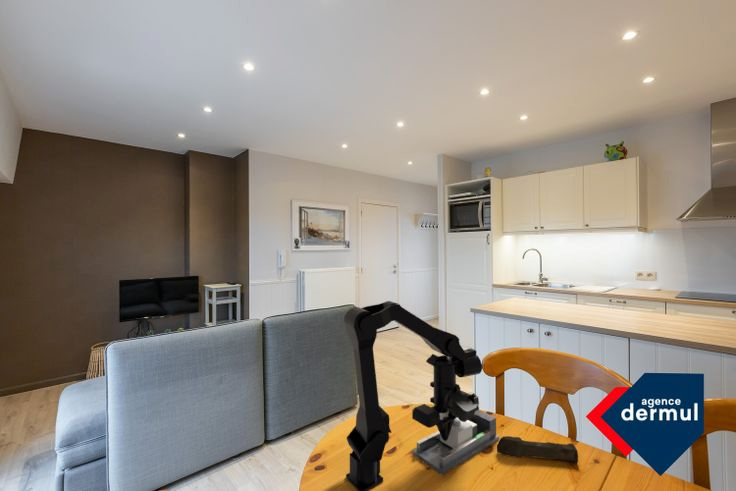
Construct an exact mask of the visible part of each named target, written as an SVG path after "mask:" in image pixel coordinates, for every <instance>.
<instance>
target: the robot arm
mask: <svg viewBox="0 0 736 491" xmlns="http://www.w3.org/2000/svg"><path fill="white" fill-rule="evenodd" d="M343 317H344V318H343V322H344V326H345V330H346V333H347V336H348V338H349V340H350V342H351V345H352V348H353V355H354V356H353V357H354V364H355V365H354V367H355V374H356V383H357V392H358V401H359V402H358V404H359V405H358V406H359V407H358V409H357V412H356V416H355V418H356V419H355V426H354V427H353V428H352V430H351V431H350V432H349V434H348V435H347V436H346V441H347V444H348V446H349V447H350V449H351V450H352V451H351V452H350V453H349V473H346V474H345V478H346V479H347V480H348V481H349V483H350V484H352V485H353V487H354V488H355V489H357V491H369V490H370V489H372V488H373V487H375V486H378V485H380V484H381V483H383V482H384V477H383V476H382V475H380V473H381V460H383V459H382V458H383V454H384V451H385V448H386V445H387V443H389V440H390V434H391V433H392V430H391V428H390V415H389V414H388V413H387V412H386V411H385V410H384V409H383V408H382V407H381V406H380V402H379V391H378V382H377V374H376V364H375V356H374V354H375V353H374V345H375V341H376V339H377V337H378V336H377V335H378V330H380V329H382V328H384V327H386V326H387V325H389V324H390V323H392V322H395V323H397V324H399V325H400V326H401V327H404V328H405V329H406V330H409V332H411V333H414V334H415V335H417V336H418V337H420V338H421V339H422V341H423V342H425V344H426V345H427V346H428V347H429V348H431V350H433V351H435V352H437V353H440V354H442V355H436V354H434V353H432V354H431V355H430V357H427V359H426V361H425V362H426V363H427V364H429V365H430V366H433V381H430V382H429V387H431V388H433V397H430V400H429V401H430V403H432V404H433V406H429V405H427V404H426V403H423V404H420V405H418V406H416V407H414V408H413V409H412V411H411V412H412V413H411V416H412V420H414V421H416V422H417V423H419V424H421V425H422V426H424V427H425V428H433V427H435V426H436V428H437V431H439V432H440V435H441V437H442V439H443V440H444V441H447V440H448V437H449V434H450V431H451V428H452V425H453V422H454V420H455V419H456V418H458V419H459V420H460V421H462V422H466V421H467V420H469V419H471V418H473V417H474V414H475V411H477V410H480V407H479V405H480V401H479V396H478V394H476V393H468V392H465V391H464V390H461V387H460V384H458V383H457V377H458V378H467V377H470V376H471V377H472V376H476V375H480V374H481V372H482V371H483V364H482V360H481V359H480V357H479V355H477V349H476V350H475V349H473V348H467V349H464V348H463V347H462V346H461V343H460V338H459V337H458V336H457V335H456V334H453V333H451V332H448V331H446V330H442V329H439V328H437V327H434V326H432V325H431V324H429V323H427V322H426V321H425V320H423V319H421V318H420V317H419V316H416V315H415V314H414V313H412V312H410V311H409V310H407V309H405V308H404V307H403V306H401V304H400V303H397V302H394V301H392V300H387V301H384V302H381V303H376V304H372V305H366V306H363V307H358V306H354V307H351V308H350V309H348V310H347V311H346V313H345V314H344V316H343Z"/></svg>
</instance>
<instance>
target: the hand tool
mask: <svg viewBox="0 0 736 491" xmlns="http://www.w3.org/2000/svg"><path fill="white" fill-rule="evenodd" d="M497 442H498V443H497V444H496V452H497V453H498V454H500V455H503V456H506V457H512V458H518V459H522V457H530V458H531V457H532V458H538V459H540V458H544V459H551V460H559V461H560V460H561V461H570V462H574V464H575V463H576V464H575V465H577V464H578V463H579V452H578V449H577V448H576V446H575V444H573V443H568V444H567V443H566V444H565V443H564V444H563V443H557V442H556V443H554V442H548V441H547V442H543V441H542V442H540V441H531V440H530V441H529V440H522V438H521V437H519V436H516V437H515V436H509V435H508V436H507V435H505V436H502V437H499V440H498V441H497Z"/></svg>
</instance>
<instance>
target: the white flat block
mask: <svg viewBox="0 0 736 491" xmlns="http://www.w3.org/2000/svg"><path fill="white" fill-rule="evenodd" d="M466 422H467V423H469V424H471V425H472V438H473V437H475V436H477V424H475V423H473V422H471V421H469V420H467V421H466Z"/></svg>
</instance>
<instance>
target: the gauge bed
mask: <svg viewBox="0 0 736 491" xmlns="http://www.w3.org/2000/svg"><path fill="white" fill-rule="evenodd" d="M469 421H471V422H473V423H475V424H477V436H475V437H473V438H472V439H470V440H468V441H466V442H465V443H463V444H461V445H459V446H458V447H456V448H452V447H450V446H449V445H447V444H445V443H444V442H442V441H440V432H439V430H437V431H436V432H435V431H434V432H433V433H431V434H429V435H427V436H425V437H423V438H421V439H419V440H417V441H416V448H415V449H413V450H412V456H414V457H416V458H417V459H418V460H420V461H421V462H423V463H424V464H426V465H427V466H428V467H430V468H431V469H433V470H434V471H436V472H437V473H438V474H440V475H441V476H444V475H445V474H447V473H449V472H450V471H452V470H454V469H455V468H456V467H458V466H460V465H461V464H462V463H464V462H466V461H467V460H469V459H471V458H472V457H474V456H475V455H477V454H479V453H481V452H482V451H484V450H486V448H488V447H489V446H492V445H493V444H495V443H496V442H499V440H500V436H499V435H498V434H497V417H495V416H493V415H491V414H488V413H487V412H484V411H482V410H480V409H479V410H477V411H475V414H474V417H473V418H471V419H469Z"/></svg>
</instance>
